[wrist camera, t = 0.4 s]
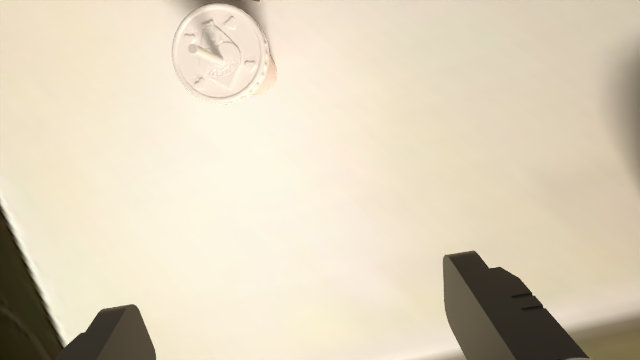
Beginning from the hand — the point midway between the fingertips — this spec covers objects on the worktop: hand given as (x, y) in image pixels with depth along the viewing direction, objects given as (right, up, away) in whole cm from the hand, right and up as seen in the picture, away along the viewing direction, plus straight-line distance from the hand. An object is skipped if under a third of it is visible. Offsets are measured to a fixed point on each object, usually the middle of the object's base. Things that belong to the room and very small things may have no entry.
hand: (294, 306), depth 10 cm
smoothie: (-5, +13, +25) cm, 29 cm away
